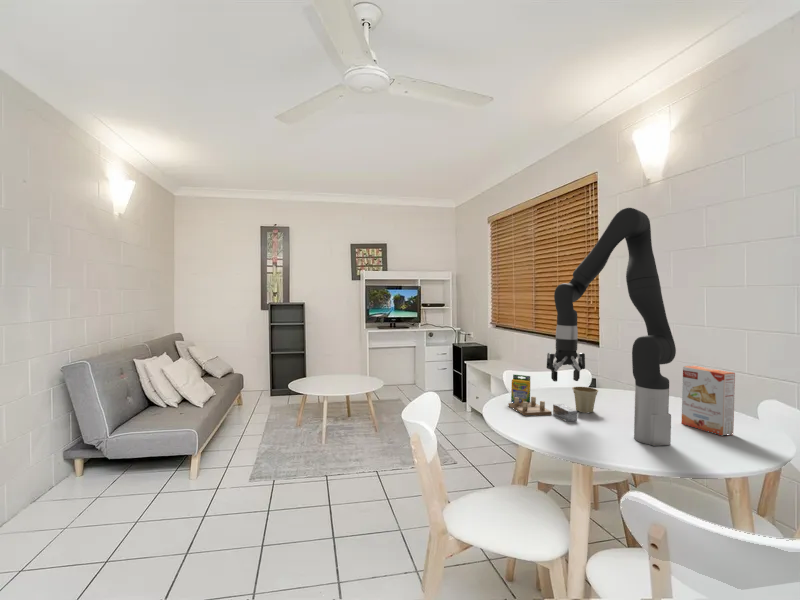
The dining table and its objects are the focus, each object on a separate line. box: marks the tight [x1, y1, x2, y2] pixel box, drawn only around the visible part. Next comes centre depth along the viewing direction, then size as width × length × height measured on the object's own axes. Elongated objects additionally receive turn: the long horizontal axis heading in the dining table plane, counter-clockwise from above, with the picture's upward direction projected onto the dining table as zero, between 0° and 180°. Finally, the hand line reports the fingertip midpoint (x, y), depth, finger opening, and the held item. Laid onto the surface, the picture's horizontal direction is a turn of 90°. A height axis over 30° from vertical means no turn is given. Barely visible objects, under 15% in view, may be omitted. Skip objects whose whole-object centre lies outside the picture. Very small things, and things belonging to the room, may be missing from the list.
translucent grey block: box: [552, 403, 578, 423], centre depth 159 cm, size 10×4×4 cm, turn 11°
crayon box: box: [510, 374, 531, 403], centre depth 178 cm, size 7×3×12 cm, turn 64°
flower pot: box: [572, 386, 599, 414], centre depth 168 cm, size 9×9×9 cm
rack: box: [508, 396, 553, 416], centre depth 168 cm, size 14×11×4 cm
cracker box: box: [681, 365, 736, 436], centre depth 146 cm, size 14×6×21 cm, turn 21°
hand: (565, 380), depth 158 cm, fingers open, 8 cm apart
